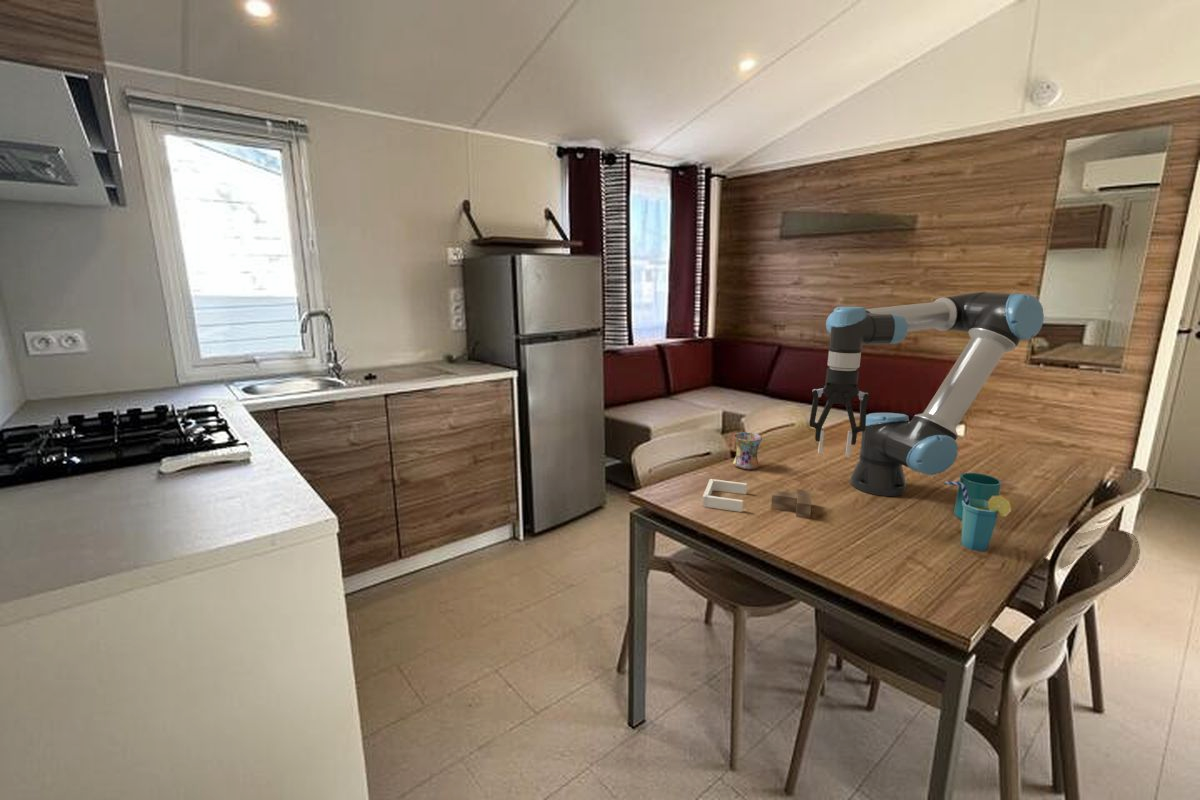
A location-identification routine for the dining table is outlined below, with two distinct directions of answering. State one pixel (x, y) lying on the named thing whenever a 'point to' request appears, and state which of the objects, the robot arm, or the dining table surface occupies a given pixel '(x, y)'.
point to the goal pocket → (720, 501)
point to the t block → (793, 502)
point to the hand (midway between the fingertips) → (833, 454)
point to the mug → (747, 450)
